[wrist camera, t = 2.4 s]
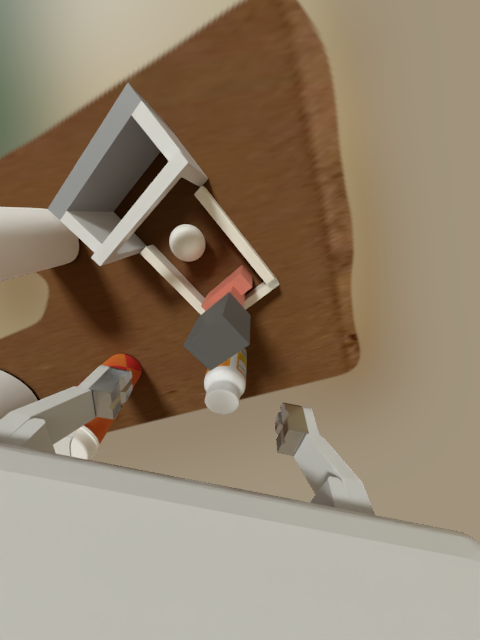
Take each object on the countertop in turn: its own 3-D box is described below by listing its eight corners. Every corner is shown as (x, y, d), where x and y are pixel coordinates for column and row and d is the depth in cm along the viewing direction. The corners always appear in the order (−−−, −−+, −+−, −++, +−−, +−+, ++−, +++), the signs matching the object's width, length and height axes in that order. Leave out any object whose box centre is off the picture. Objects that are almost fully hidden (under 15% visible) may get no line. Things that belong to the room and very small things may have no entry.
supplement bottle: (207, 359, 34) (192, 410, 25) (220, 333, 31) (207, 378, 23) (238, 371, 34) (233, 424, 26) (252, 346, 32) (252, 395, 23)
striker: (223, 309, 29) (201, 376, 17) (208, 293, 28) (174, 352, 16) (257, 282, 27) (260, 337, 15) (242, 264, 26) (233, 307, 14)
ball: (192, 264, 27) (183, 272, 23) (169, 239, 26) (155, 243, 22) (215, 243, 26) (209, 248, 22) (191, 215, 25) (181, 215, 21)
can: (89, 234, 26) (-25, 248, 15) (71, 273, 28) (-39, 308, 18) (37, 195, 24) (-132, 180, 14) (22, 240, 27) (-131, 257, 16)
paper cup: (151, 385, 37) (100, 472, 24) (109, 383, 37) (36, 468, 25) (143, 348, 33) (78, 428, 21) (96, 345, 34) (4, 423, 21)
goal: (141, 252, 27) (100, 266, 20) (99, 210, 25) (37, 208, 18) (208, 178, 23) (188, 162, 16) (165, 122, 21) (119, 73, 14)
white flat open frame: (219, 324, 31) (217, 331, 29) (147, 250, 27) (139, 253, 25) (277, 279, 27) (279, 284, 26) (205, 187, 23) (201, 185, 21)
